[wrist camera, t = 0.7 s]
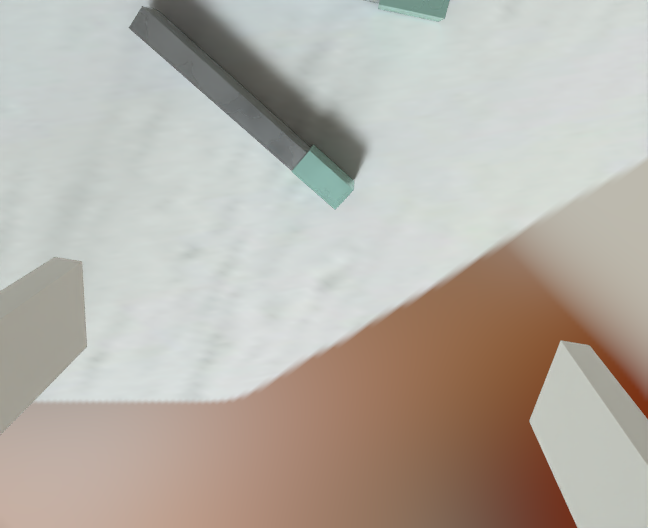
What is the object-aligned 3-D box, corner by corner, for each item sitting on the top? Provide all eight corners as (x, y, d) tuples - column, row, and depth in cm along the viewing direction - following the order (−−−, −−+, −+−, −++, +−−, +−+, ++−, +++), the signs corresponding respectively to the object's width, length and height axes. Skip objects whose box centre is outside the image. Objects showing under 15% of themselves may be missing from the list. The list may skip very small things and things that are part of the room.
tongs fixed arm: (98, -11, 32) (72, -18, 29) (128, -63, 31) (103, -75, 28) (337, 200, 36) (334, 212, 34) (372, 162, 35) (372, 171, 32)
